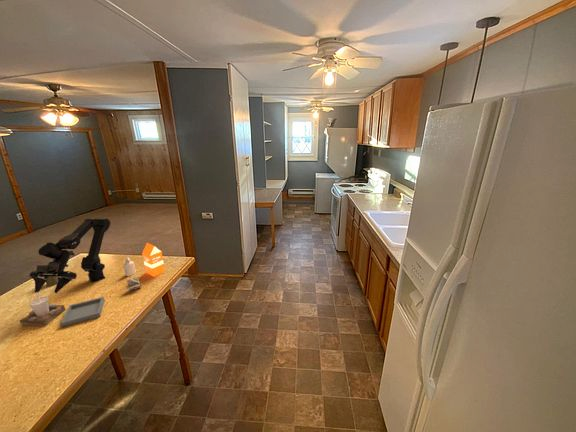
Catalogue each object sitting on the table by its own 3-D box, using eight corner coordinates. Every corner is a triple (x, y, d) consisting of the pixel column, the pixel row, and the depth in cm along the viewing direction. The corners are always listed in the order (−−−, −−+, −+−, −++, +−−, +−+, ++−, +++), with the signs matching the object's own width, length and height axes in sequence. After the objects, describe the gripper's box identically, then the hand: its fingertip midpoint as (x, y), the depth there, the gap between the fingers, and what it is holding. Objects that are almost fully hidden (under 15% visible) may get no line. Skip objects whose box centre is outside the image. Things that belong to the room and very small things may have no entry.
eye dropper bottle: (125, 273, 150) (121, 257, 147) (135, 271, 154) (132, 254, 150) (125, 276, 147) (121, 259, 143) (136, 274, 150) (132, 257, 146)
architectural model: (141, 290, 135) (138, 279, 133) (126, 294, 131) (124, 283, 129) (140, 287, 138) (138, 276, 135) (126, 291, 134) (123, 280, 131)
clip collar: (44, 309, 118) (42, 303, 117) (65, 310, 118) (63, 303, 117) (21, 325, 108) (19, 319, 107) (45, 325, 108) (42, 319, 107)
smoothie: (57, 314, 115) (48, 290, 111) (40, 323, 109) (30, 298, 105) (48, 311, 117) (40, 287, 113) (32, 320, 111) (22, 295, 107)
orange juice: (153, 277, 147) (148, 248, 141) (145, 272, 152) (140, 244, 145) (165, 271, 154) (160, 243, 147) (157, 267, 158) (152, 240, 152)
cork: (51, 287, 136) (45, 270, 133) (43, 285, 137) (37, 269, 134) (63, 281, 142) (57, 265, 138) (55, 280, 143) (49, 264, 140)
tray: (70, 309, 119) (69, 305, 118) (104, 300, 125) (103, 296, 125) (62, 327, 107) (60, 323, 107) (100, 316, 114) (99, 312, 113)
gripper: (26, 256, 113) (8, 289, 106) (65, 256, 114) (50, 290, 106) (47, 263, 123) (32, 293, 116) (82, 263, 124) (70, 293, 116)
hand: (45, 292), depth 113 cm, fingers open, 9 cm apart
